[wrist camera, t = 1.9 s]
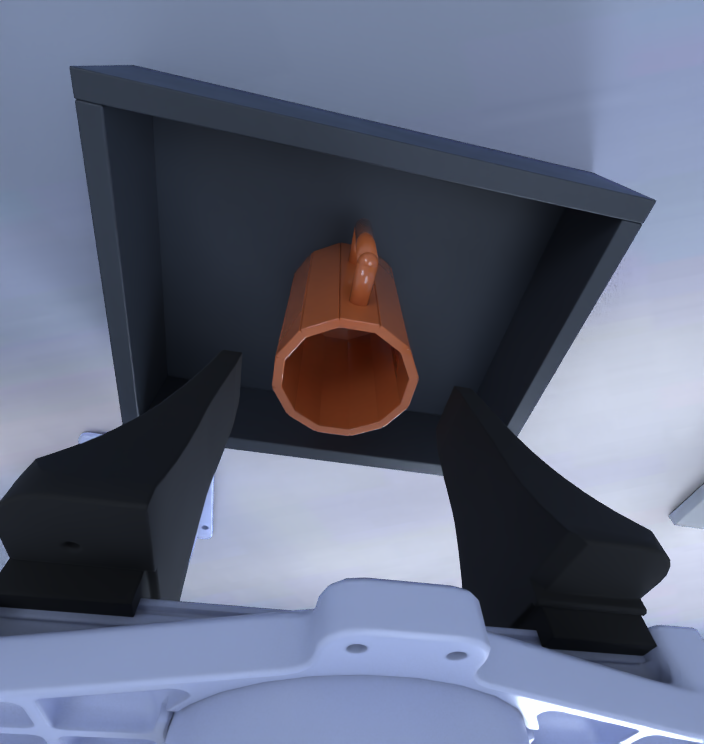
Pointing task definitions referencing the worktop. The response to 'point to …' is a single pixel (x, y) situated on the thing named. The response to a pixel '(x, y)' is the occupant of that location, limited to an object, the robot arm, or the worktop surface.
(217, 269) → the bin
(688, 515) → the test tube rack
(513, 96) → the worktop surface
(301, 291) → the cup
